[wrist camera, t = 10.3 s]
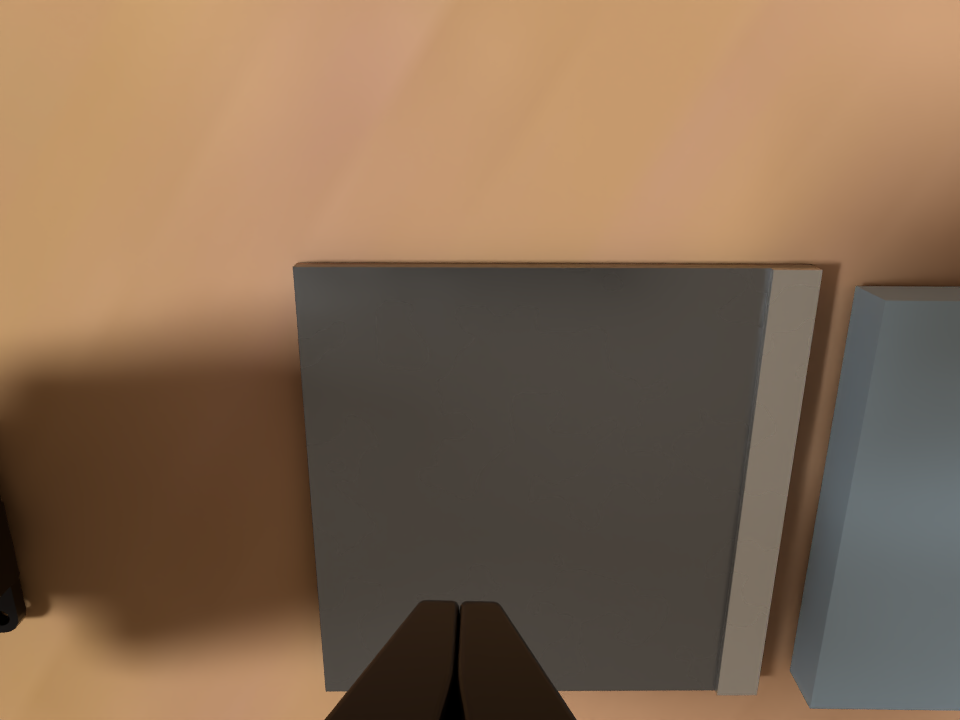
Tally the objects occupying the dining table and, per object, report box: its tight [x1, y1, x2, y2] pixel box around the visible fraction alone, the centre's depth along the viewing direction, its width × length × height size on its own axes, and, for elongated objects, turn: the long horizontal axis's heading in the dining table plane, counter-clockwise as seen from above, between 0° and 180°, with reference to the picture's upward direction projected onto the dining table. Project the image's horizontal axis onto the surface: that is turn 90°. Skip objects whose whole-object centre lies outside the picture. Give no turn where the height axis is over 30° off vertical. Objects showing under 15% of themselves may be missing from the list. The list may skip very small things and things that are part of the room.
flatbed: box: [293, 263, 823, 695], centre depth 21 cm, size 13×13×1 cm
